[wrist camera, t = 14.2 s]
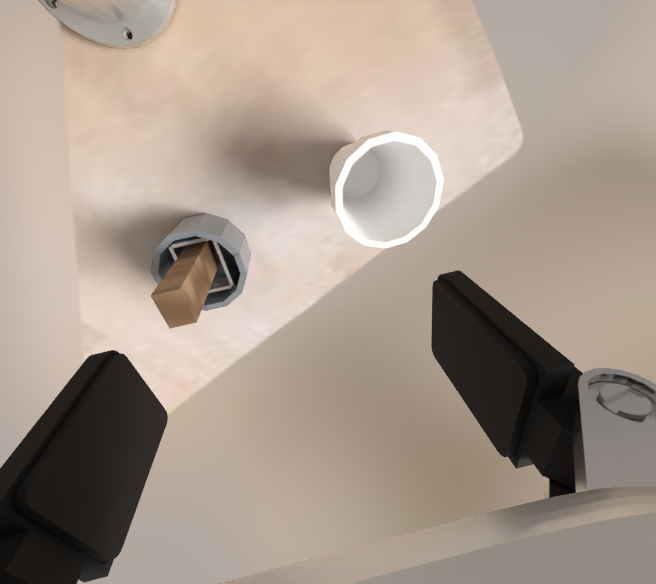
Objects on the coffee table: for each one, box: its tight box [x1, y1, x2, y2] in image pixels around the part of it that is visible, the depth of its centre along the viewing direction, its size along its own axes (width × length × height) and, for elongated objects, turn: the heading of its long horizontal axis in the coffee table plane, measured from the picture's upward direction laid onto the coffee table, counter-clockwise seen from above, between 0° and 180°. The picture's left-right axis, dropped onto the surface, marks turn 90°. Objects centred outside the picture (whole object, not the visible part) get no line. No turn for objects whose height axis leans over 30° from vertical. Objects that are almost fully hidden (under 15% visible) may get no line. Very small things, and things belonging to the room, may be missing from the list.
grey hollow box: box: [168, 236, 238, 293], centre depth 36 cm, size 7×5×4 cm
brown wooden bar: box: [151, 240, 220, 328], centre depth 31 cm, size 4×2×14 cm
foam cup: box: [329, 131, 444, 248], centre depth 30 cm, size 10×9×13 cm
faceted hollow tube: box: [151, 213, 251, 311], centre depth 36 cm, size 10×10×6 cm
